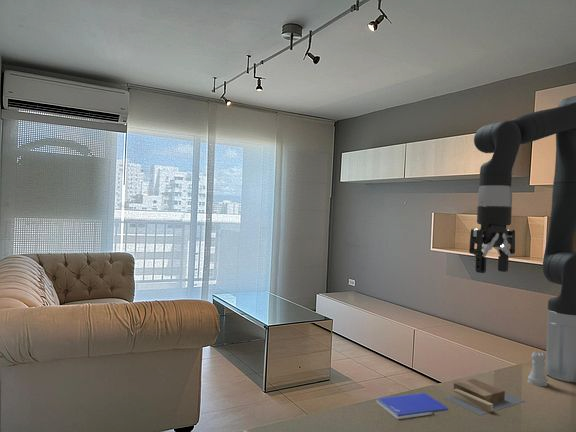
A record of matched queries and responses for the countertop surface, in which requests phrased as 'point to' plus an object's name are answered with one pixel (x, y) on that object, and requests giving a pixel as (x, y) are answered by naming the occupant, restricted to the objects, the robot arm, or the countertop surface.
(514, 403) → the charcoal mat
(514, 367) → the countertop surface
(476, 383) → the walnut board
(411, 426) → the countertop surface
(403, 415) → the hard drive
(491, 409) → the beech rail
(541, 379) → the rook chess piece
